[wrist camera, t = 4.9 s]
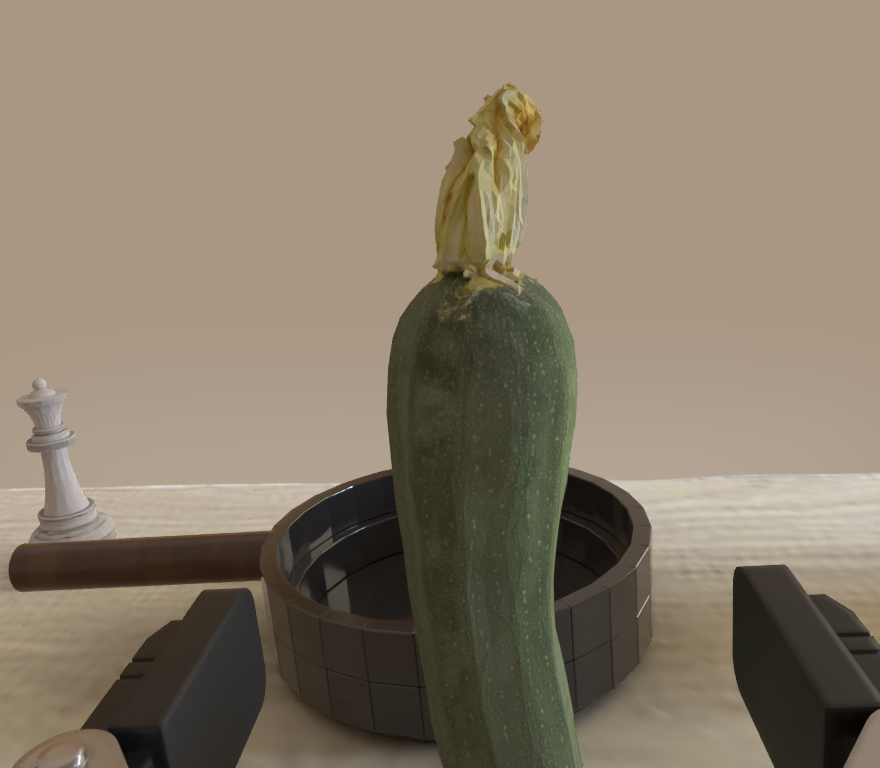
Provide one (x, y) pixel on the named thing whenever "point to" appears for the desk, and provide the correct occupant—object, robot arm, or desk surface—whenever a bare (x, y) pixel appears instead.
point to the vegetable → (486, 461)
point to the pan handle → (137, 561)
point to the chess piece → (60, 474)
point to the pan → (390, 613)
